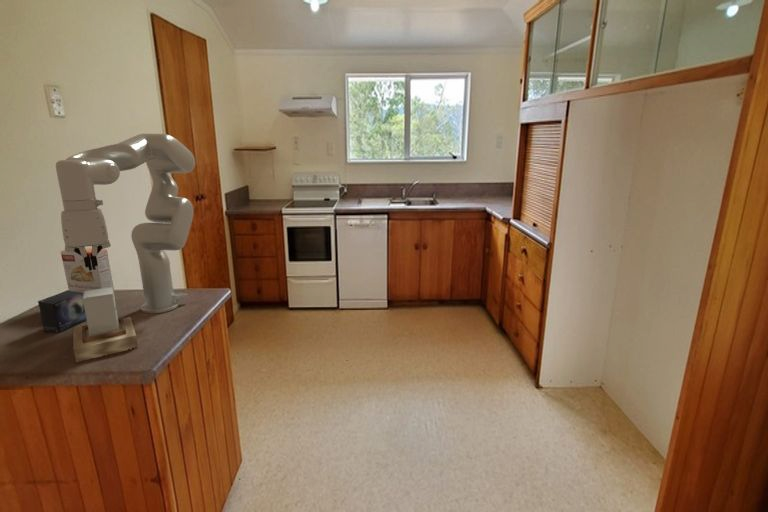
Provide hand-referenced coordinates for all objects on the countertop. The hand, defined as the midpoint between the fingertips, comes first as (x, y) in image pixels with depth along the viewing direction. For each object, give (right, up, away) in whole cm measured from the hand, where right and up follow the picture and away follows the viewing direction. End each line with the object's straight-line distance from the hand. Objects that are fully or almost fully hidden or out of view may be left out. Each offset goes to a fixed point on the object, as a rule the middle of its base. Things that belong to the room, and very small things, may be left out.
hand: (92, 268), depth 118 cm
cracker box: (-25, -14, +37) cm, 47 cm away
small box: (-21, -20, +18) cm, 34 cm away
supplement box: (0, -19, +6) cm, 20 cm away
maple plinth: (0, -23, +7) cm, 24 cm away
